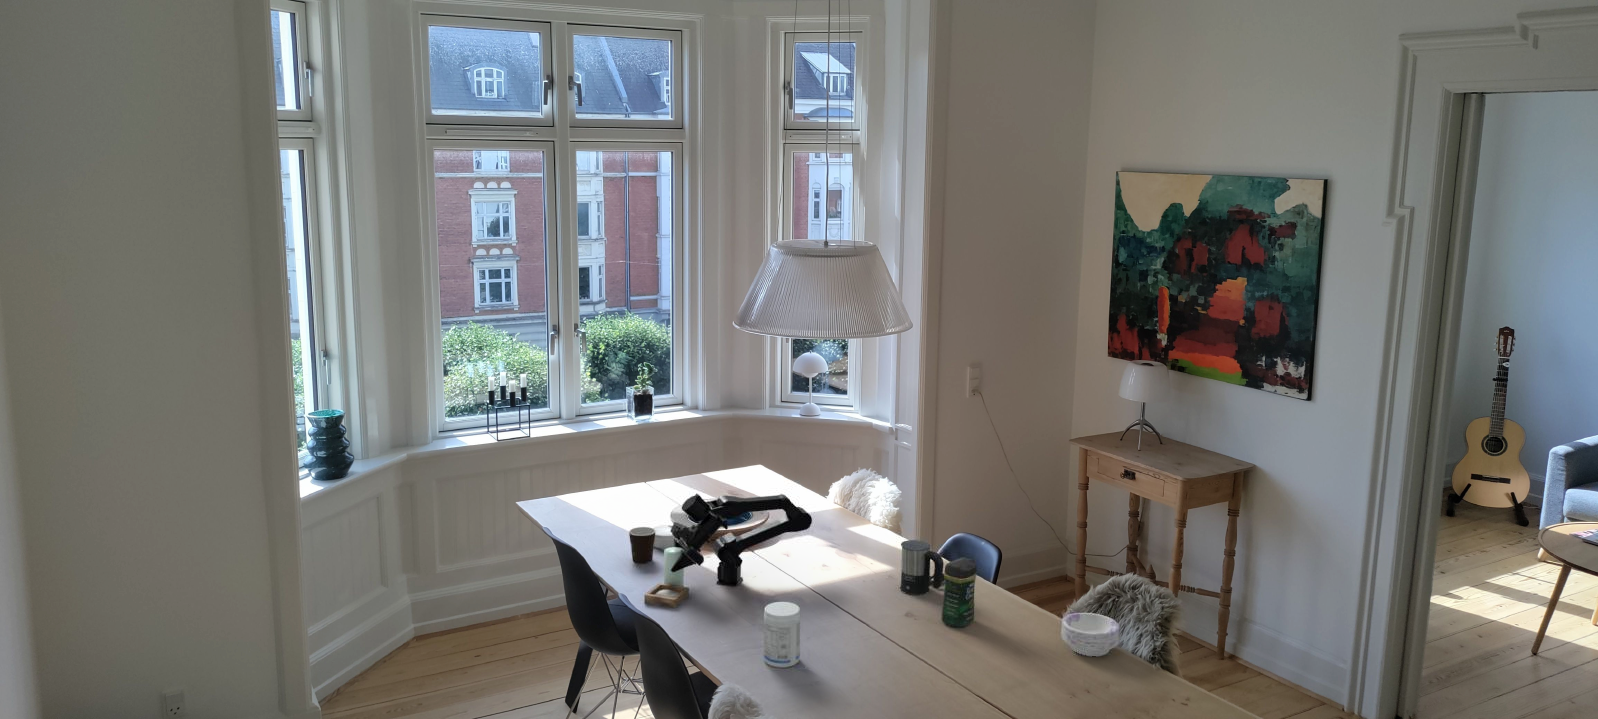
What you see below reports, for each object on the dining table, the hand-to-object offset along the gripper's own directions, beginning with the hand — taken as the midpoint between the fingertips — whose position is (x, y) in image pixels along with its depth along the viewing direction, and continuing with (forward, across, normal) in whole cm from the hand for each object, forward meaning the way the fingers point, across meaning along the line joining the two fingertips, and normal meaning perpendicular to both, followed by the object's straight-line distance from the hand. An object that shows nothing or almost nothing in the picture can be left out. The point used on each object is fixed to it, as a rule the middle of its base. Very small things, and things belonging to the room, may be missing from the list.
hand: (669, 567), depth 332 cm
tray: (+6, +8, +3) cm, 11 cm away
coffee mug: (+7, -27, +3) cm, 28 cm away
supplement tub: (-8, +57, +17) cm, 60 cm away
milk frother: (-49, +21, +59) cm, 79 cm away
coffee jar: (-48, +48, +57) cm, 89 cm away
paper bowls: (-66, +75, +76) cm, 125 cm away
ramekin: (0, -38, +10) cm, 40 cm away
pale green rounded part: (+4, 0, +6) cm, 7 cm away
